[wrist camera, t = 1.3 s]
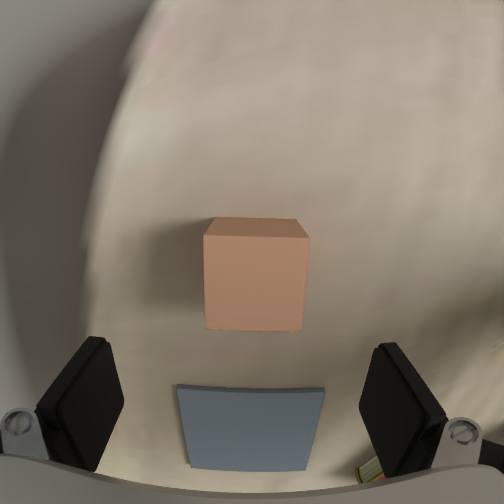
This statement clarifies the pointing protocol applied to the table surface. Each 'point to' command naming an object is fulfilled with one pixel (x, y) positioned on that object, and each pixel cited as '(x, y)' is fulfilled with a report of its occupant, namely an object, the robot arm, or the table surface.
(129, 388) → the table surface
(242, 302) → the terracotta cube
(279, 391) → the slate mat
